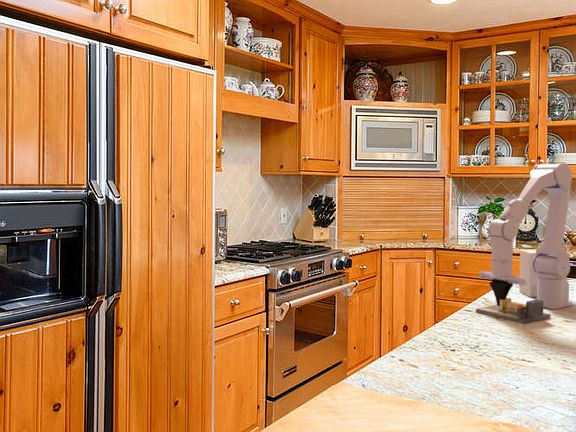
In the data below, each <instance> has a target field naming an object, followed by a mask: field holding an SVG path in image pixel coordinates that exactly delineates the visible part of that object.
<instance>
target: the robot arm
mask: <svg viewBox="0 0 576 432" xmlns="http://www.w3.org/2000/svg"><path fill="white" fill-rule="evenodd" d="M573 172H574V171H573V170H572V169H571V167H570V166H569V165H568V163H565V162H561V163H537V164H535V165H534V167H533V169H532V170H531V171H530V172H529V178H530V179H529V180H528V181H527V183H526V184H525V186H524V188H523V189H522V191H521V193H520V194H519V196H518V197H517V199H512V200H510V201H509V202H508V203H507V205H506V207H505V209H504V210H503V211H502V212H501V214H500V215H499V217H498V218H495V219H493V220H492V221H491V222H490V223H489V225H488V228H487V234H488V236H489V239H490V243H491V266H490V267H491V268H490V270H491V271H478V279H486V280H490V282H489V286H490V287H491V290H492V291H493V294H494V297H495V300H496V305H497V306H500V299H505V298H508V294H509V293H510V290H511V288H512V287H513V286H514V284H515V285H518V286H520V285H521V286H522V285H525V283H526V278H522V277H520V276H517V275H514V274H513V252H514V251H513V250H514V249H513V245H514V244H513V243H514V239H515V238H517V236H518V234H519V228H520V225H521V224H520V223H521V222H522V221H523V219H525V217H526V216H527V214H528V213H529V205H530V203H531V202H532V201H533V200H534V199H535V198H536V197H537V196H538V195H539V193H540V192H541V191H542V190H544V191H546V192H547V193H548V195H549V198H548V199H549V201H548V206H547V207H548V208H547V213H546V215H547V216H546V221H545V222H546V223H545V229H544V235H543V236H544V237H543V244H542V245H541V246H540V247H538V248H537V249H535V250H536V254H535V257H534V259H533V261H532V269H533V271H534V272H535V273H536V276H538V281H537V297H536V300H542V301H544V304H543V308H547V309H552V310H556V309H561V308H566V307H570V306H572V303H570V299H569V297H570V284H569V281H568V279H567V278H566V277H567V276H569V273H570V272H571V264H570V253H568V252H567V251H566V250H565V248H563V245H564V237H565V231H566V225H567V215H568V209H569V203H570V202H569V201H570V193H571V187H572V181H573V179H572V178H573ZM550 254H551V255H555V256H556V257H553V256H548V255H550ZM491 280H492V281H491Z"/></svg>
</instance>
